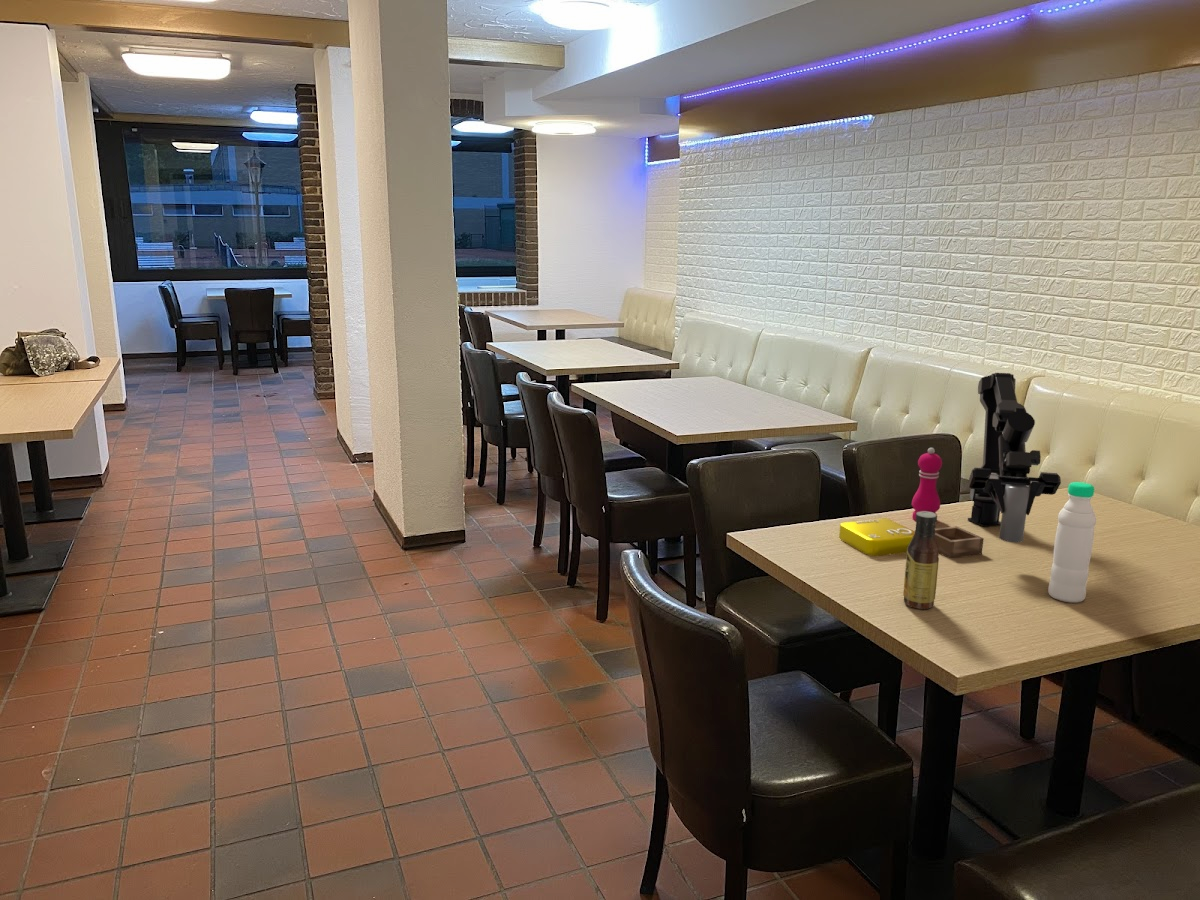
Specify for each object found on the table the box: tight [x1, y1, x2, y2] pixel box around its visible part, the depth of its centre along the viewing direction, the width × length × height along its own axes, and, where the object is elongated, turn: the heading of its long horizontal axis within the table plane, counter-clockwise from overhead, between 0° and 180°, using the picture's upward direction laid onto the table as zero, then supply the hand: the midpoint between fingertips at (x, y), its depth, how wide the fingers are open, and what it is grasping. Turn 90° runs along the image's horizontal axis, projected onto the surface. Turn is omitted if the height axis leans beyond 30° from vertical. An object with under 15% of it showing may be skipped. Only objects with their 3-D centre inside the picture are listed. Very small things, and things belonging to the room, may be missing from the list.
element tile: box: [838, 518, 915, 557], centre depth 223 cm, size 15×15×5 cm
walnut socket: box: [934, 525, 984, 559], centre depth 219 cm, size 10×10×4 cm
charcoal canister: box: [998, 484, 1030, 544], centre depth 205 cm, size 5×5×12 cm
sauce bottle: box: [902, 511, 940, 610], centre depth 184 cm, size 7×6×20 cm
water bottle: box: [1047, 481, 1097, 604], centre depth 188 cm, size 7×7×25 cm
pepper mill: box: [911, 447, 943, 522], centre depth 240 cm, size 7×7×20 cm
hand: (1015, 513), depth 204 cm, fingers closed on charcoal canister, 5 cm apart
